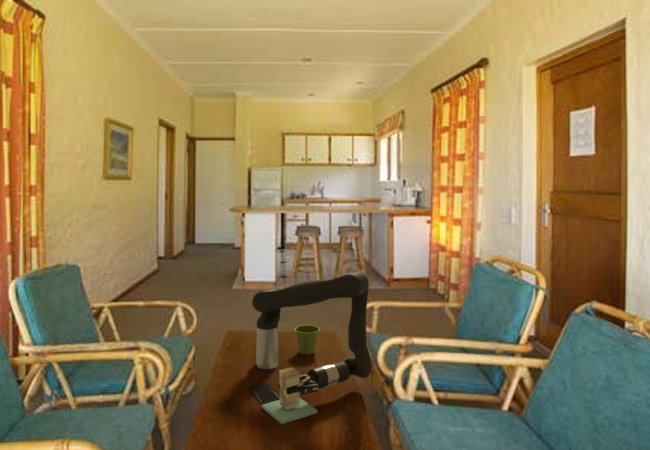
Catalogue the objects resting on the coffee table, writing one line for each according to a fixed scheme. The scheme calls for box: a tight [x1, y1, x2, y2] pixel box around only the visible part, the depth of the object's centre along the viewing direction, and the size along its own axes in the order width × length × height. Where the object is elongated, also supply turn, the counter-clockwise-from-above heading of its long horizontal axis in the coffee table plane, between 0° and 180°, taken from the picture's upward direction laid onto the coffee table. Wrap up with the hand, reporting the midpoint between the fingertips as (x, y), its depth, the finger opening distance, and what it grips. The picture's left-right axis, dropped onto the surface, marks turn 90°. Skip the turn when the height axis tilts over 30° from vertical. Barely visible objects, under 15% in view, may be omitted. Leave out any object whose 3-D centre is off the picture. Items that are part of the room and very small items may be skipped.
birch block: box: [278, 366, 300, 409], centre depth 163 cm, size 5×5×12 cm
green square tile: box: [261, 396, 318, 425], centre depth 163 cm, size 14×14×1 cm
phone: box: [249, 382, 280, 405], centre depth 176 cm, size 8×1×15 cm
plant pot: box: [294, 324, 321, 356], centre depth 219 cm, size 12×12×11 cm
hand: (282, 388), depth 161 cm, fingers closed on birch block, 5 cm apart
